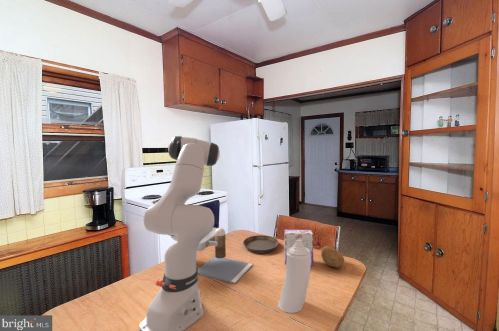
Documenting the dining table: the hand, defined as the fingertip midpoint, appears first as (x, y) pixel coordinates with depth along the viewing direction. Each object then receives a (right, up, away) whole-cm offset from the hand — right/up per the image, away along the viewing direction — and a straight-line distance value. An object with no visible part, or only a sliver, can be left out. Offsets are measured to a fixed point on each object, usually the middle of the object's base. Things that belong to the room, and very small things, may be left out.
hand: (221, 241), depth 119 cm
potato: (+54, -13, +3) cm, 56 cm away
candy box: (+38, -13, +6) cm, 41 cm away
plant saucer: (+20, -12, +26) cm, 35 cm away
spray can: (+30, -16, -26) cm, 43 cm away
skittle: (-1, -7, +1) cm, 8 cm away
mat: (+1, -14, +1) cm, 14 cm away
